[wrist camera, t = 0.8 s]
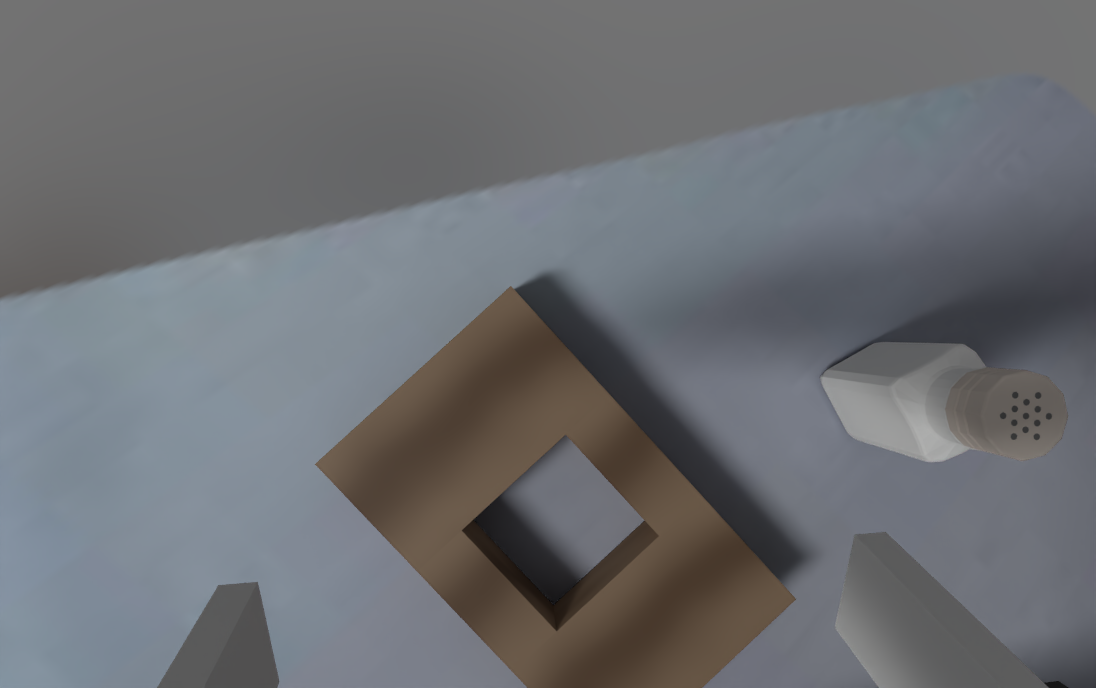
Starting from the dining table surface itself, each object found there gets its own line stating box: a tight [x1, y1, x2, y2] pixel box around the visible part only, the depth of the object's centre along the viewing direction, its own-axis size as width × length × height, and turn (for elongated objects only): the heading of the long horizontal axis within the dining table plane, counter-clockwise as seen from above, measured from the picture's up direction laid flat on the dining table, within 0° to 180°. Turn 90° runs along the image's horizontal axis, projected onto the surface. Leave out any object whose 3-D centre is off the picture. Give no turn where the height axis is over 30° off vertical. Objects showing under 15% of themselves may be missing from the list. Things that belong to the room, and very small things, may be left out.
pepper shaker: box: [820, 342, 1068, 462], centre depth 24 cm, size 4×4×10 cm
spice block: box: [315, 286, 796, 688], centre depth 27 cm, size 20×12×2 cm, turn 42°
